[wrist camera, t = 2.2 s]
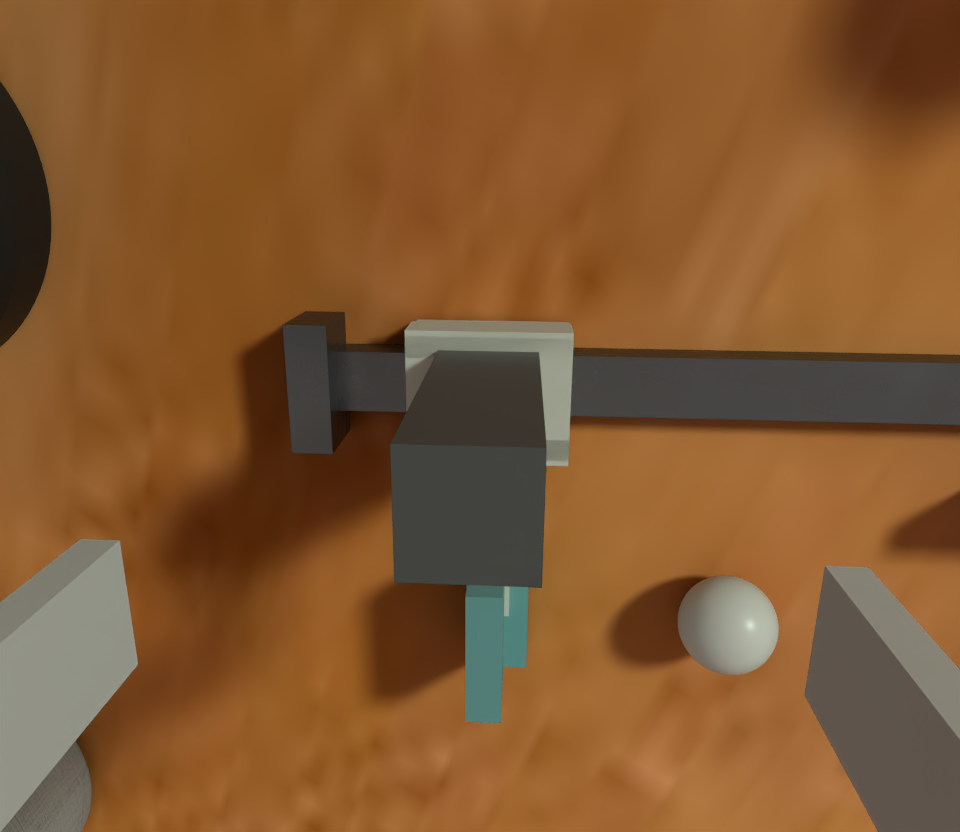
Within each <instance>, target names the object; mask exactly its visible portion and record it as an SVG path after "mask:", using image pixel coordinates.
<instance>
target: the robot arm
mask: <svg viewBox="0 0 960 832" xmlns="http://www.w3.org/2000/svg"><path fill="white" fill-rule="evenodd" d="M50 242H51V212H50V202H49V194H48V189H47V184H46V179H45V175H44V171H43V167H42V163H41V160H40V157H39V154H38V151H37V148H36V146H35V144H34V141H33V139H32V136H31V134H30V131H29V129H28V127H27V125H26V123H25V121H24V119H23V117H22V115H21V113H20V112H19V110H18V108H17V106H16V104H15V103H14V101H13V100H12V98H11V97H10V95H9V93H8V92H7V90H6V89H5V87H4V86H3V85H2V83H1V82H0V346H1V345H2V344H3V343H4V342H5V341H7V340H8V339H9V337H10V336H11V335H12V334H13V333H14V332H15V331H16V330H17V329H18V327H19V326H20V325H21V324H22V322H23V321H24V319H25V318H26V316H27V315H28V313H29V312H30V310H31V308H32V306H33V304H34V303H35V300H36V298H37V296H38V294H39V291H40V289H41V286H42V283H43V280H44V277H45V273H46V269H47V264H48V258H49V253H50ZM137 665H138V661H137V654H136V647H135V641H134V634H133V627H132V621H131V614H130V607H129V601H128V594H127V587H126V580H125V574H124V567H123V560H122V554H121V547H120V540H95V539H80V540H79V541H78V542H76V543H75V544H74V545H72V546H71V547H70V548H69V549H67V550H66V551H65V552H64V553H62V554H61V555H60V556H58V557H57V558H56V559H55V560H53V561H52V562H51V563H50V564H48V565H47V566H46V567H44V568H43V569H42V570H41V571H39V572H38V573H37V574H36V575H34V576H33V577H32V578H30V579H29V580H28V581H27V582H25V583H24V584H23V585H22V586H20V587H19V588H18V589H16V590H15V591H14V592H13V593H11V594H10V595H9V596H8V597H6V598H5V599H4V600H2V601H1V602H0V832H1V831H2V830H3V829H4V827H5V826H6V825H7V824H8V823H9V821H10V820H11V819H12V818H13V816H14V815H15V814H16V813H17V812H18V810H19V809H20V808H21V807H22V805H23V804H24V803H25V802H26V801H27V799H28V798H29V797H30V796H31V794H32V793H33V792H34V791H35V790H36V788H37V787H38V786H39V785H40V783H41V782H42V781H43V780H44V779H45V777H46V776H47V775H48V774H49V772H50V771H51V770H52V769H53V768H54V766H55V765H56V764H57V763H58V761H59V760H60V759H61V758H62V757H63V755H64V754H65V753H66V752H67V751H68V749H69V748H70V747H71V746H72V744H73V743H74V742H75V741H76V740H77V738H78V737H79V736H80V735H81V733H82V732H83V731H84V730H85V729H86V727H87V726H88V725H89V724H90V722H91V721H92V720H93V719H94V718H95V716H96V715H97V714H98V713H99V711H100V710H101V709H102V708H103V707H104V705H105V704H106V703H107V702H108V700H109V699H110V698H111V697H112V696H113V694H114V693H115V692H116V691H117V689H118V688H119V687H120V686H121V685H122V683H123V682H124V681H125V680H126V678H127V677H128V676H129V675H130V674H131V672H132V671H133V670H134V669H135V667H136V666H137ZM805 697H806V699H807V701H808V702H809V704H810V706H811V708H812V710H813V712H814V714H815V715H816V717H817V719H818V721H819V723H820V725H821V727H822V728H823V730H824V732H825V734H826V736H827V738H828V740H829V741H830V743H831V745H832V747H833V749H834V751H835V753H836V754H837V756H838V758H839V760H840V762H841V764H842V766H843V767H844V769H845V771H846V773H847V775H848V777H849V779H850V780H851V782H852V784H853V786H854V788H855V790H856V792H857V793H858V795H859V797H860V799H861V801H862V803H863V805H864V806H865V808H866V810H867V812H868V814H869V816H870V818H871V819H872V821H873V823H874V825H875V827H876V829H877V831H878V832H960V670H959V669H958V667H957V666H956V665H955V664H954V663H953V662H952V661H951V660H950V658H949V657H948V656H947V655H946V654H945V653H944V652H943V650H942V649H941V648H940V647H939V646H938V645H937V644H936V643H935V641H934V640H933V639H932V638H931V637H930V636H929V635H928V634H927V632H926V631H925V630H924V629H923V628H922V627H921V626H920V625H919V623H918V622H917V621H916V620H915V619H914V618H913V617H912V616H911V614H910V613H909V612H908V611H907V610H906V609H905V608H904V607H903V605H902V604H901V603H900V602H899V601H898V600H897V599H896V598H895V596H894V595H893V594H892V593H891V592H890V591H889V590H888V589H887V587H886V586H885V585H884V584H883V583H882V582H881V581H880V580H879V578H878V577H877V576H876V575H875V574H874V573H873V572H872V570H871V569H870V568H869V567H847V566H825V569H824V575H823V581H822V588H821V594H820V600H819V607H818V613H817V619H816V625H815V632H814V638H813V644H812V651H811V657H810V663H809V670H808V676H807V682H806V688H805Z"/></svg>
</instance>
